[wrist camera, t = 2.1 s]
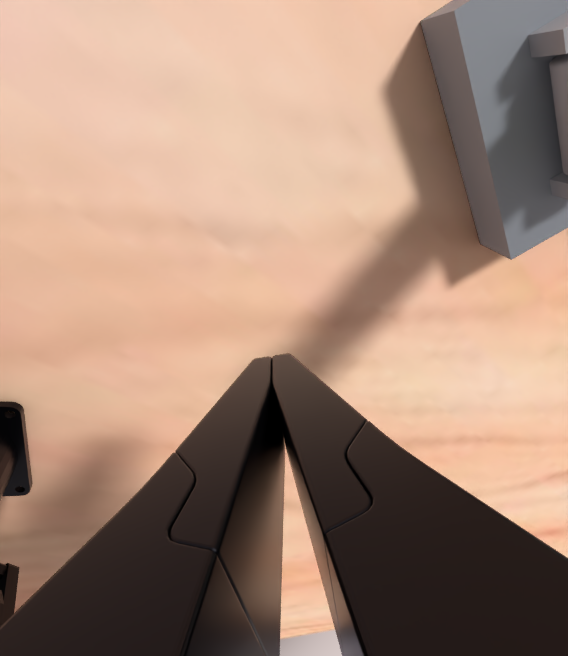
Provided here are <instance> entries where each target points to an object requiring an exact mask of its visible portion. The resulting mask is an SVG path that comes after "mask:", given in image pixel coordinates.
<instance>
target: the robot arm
mask: <svg viewBox="0 0 568 656" xmlns="http://www.w3.org/2000/svg"><path fill="white" fill-rule="evenodd" d="M8 411H13V412H14V413H10V412H8ZM284 440H285V441H284ZM285 445H286V449H287V453H288V457H289V461H290V465H291V468H292V472H293V476H294V479H295V483H296V487H297V490H298V494H299V498H300V501H301V505H302V509H303V513H304V516H305V520H306V524H307V527H308V531H309V535H310V538H311V542H312V546H313V549H314V553H315V557H316V560H317V564H318V568H319V571H320V575H321V579H322V583H323V586H324V590H325V594H326V597H327V601H328V605H329V608H330V612H331V616H332V619H333V623H334V627H335V630H336V634H337V637H338V641H339V645H340V649H341V652H342V656H568V558H567V557H565V556H564V555H562V554H561V553H559V552H558V551H556V550H555V549H553V548H552V547H550V546H549V545H547V544H546V543H544V542H543V541H541V540H540V539H538V538H537V537H535V536H534V535H532V534H531V533H529V532H527V531H526V530H524V529H523V528H521V527H520V526H518V525H517V524H515V523H514V522H512V521H511V520H509V519H508V518H506V517H505V516H503V515H502V514H500V513H499V512H497V511H496V510H494V509H493V508H491V507H490V506H488V505H487V504H485V503H484V502H482V501H481V500H479V499H478V498H476V497H474V496H473V495H471V494H470V493H468V492H467V491H465V490H464V489H462V488H461V487H459V486H458V485H456V484H455V483H453V482H452V481H450V480H449V479H447V478H446V477H444V476H443V475H441V474H440V473H438V472H437V471H435V470H434V469H432V468H431V467H429V466H428V465H426V464H425V463H423V462H422V461H420V460H419V459H417V458H416V457H414V456H413V455H412V454H410V453H409V452H407V451H406V450H405V449H403V448H402V447H400V446H399V445H398V444H396V443H395V442H394V441H393V440H391V439H390V438H389V437H388V436H386V435H385V434H384V433H383V432H381V431H380V430H379V429H378V428H377V427H376V426H374V425H373V424H372V423H371V422H370V421H367V419H365V418H364V417H363V416H362V415H361V414H360V413H358V412H357V411H356V410H355V409H354V408H353V407H352V406H350V405H349V404H348V403H347V402H346V401H345V400H343V399H342V398H341V397H340V396H339V395H338V394H336V393H335V392H334V391H333V390H332V389H331V388H329V387H328V386H327V385H326V384H325V383H324V382H323V381H321V380H320V379H319V378H318V377H317V376H316V375H314V374H313V373H312V372H311V371H310V370H309V369H307V368H306V367H305V366H304V365H303V364H302V363H301V362H299V361H298V360H297V359H296V358H295V357H294V356H292V355H291V354H289V353H287V354H281V355H275V356H273V358H271V357H263V358H256V359H254V360H252V362H251V363H250V364H249V365H248V366H247V367H246V369H245V370H244V371H243V372H242V373H241V374H240V376H239V377H238V378H237V379H236V380H235V381H234V383H233V384H232V385H231V386H230V387H229V389H228V390H227V391H226V392H225V393H224V394H223V396H222V397H221V398H220V399H219V400H218V401H217V403H216V404H215V405H214V406H213V407H212V409H211V410H210V411H209V412H208V413H207V414H206V416H205V417H204V418H203V419H202V420H201V421H200V423H199V424H198V425H197V426H196V427H195V428H194V430H193V431H192V432H191V433H190V434H189V436H188V437H187V438H186V439H185V440H184V441H183V443H182V444H181V445H180V446H179V447H178V448H177V450H176V453H172V455H171V456H170V457H169V458H168V459H167V460H166V462H165V463H164V464H163V465H162V466H161V467H160V468H159V470H158V471H157V472H156V473H155V474H154V475H153V476H152V477H151V478H150V480H149V481H148V482H147V483H146V484H145V485H144V486H143V487H142V488H141V489H140V490H139V491H138V492H137V493H136V494H135V495H134V496H133V497H132V498H131V500H130V501H129V502H128V503H127V504H126V505H125V506H124V507H123V508H122V509H121V510H120V511H119V512H118V513H117V514H116V515H115V516H114V517H113V518H112V519H110V520H109V521H108V522H107V523H106V524H105V525H104V526H103V527H102V528H101V529H100V530H99V531H98V532H97V533H96V534H95V535H94V536H93V537H92V538H91V539H90V540H89V541H88V542H87V543H86V544H85V545H84V546H83V547H82V548H81V549H80V550H79V551H78V552H77V553H76V554H75V555H74V556H73V557H72V558H71V559H69V560H68V561H67V562H66V563H65V564H64V565H63V566H62V567H61V568H60V569H59V570H58V571H57V572H56V573H55V574H54V575H53V576H52V577H51V578H50V579H49V580H48V581H47V582H46V583H45V584H44V585H43V586H42V587H41V588H40V589H39V590H38V591H37V592H36V593H35V594H34V595H33V596H32V597H31V598H30V599H29V600H27V601H26V602H25V603H24V604H23V605H22V606H21V607H20V608H19V609H18V610H17V611H16V612H15V613H14V609H15V600H16V591H17V583H18V574H19V567H17V566H14V565H11V564H9V563H7V564H2V563H0V656H279V655H280V619H281V583H282V547H283V510H284V474H285ZM20 486H21V487H20ZM31 487H32V478H31V469H30V460H29V452H28V443H27V434H26V426H25V417H24V409H23V407H22V406H21V405H20V404H18V403H16V402H0V500H1V498H2V496H21V495H26V494H28V493H29V492H30V489H31Z"/></svg>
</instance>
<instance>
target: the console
mask: <svg viewBox="0 0 568 656" xmlns="http://www.w3.org/2000/svg"><path fill="white" fill-rule="evenodd" d="M420 23H421V26H422V30H423V34H424V37H425V41H426V45H427V48H428V52H429V56H430V60H431V63H432V67H433V71H434V74H435V78H436V82H437V85H438V89H439V93H440V97H441V100H442V104H443V108H444V111H445V115H446V119H447V122H448V126H449V130H450V133H451V137H452V141H453V145H454V148H455V152H456V156H457V159H458V163H459V167H460V170H461V174H462V178H463V182H464V185H465V189H466V193H467V196H468V200H469V204H470V207H471V211H472V215H473V219H474V222H475V226H476V230H477V233H478V237H479V241H480V244H481V245H483V246H485V247H487V248H489V249H491V250H493V251H495V252H497V253H499V254H501V255H503V256H505V257H507V258H509V259H511V260H512V259H513V258H515V257H517V256H519V255H520V254H522V253H524V252H526V251H527V250H529V249H531V248H533V247H534V246H536V245H538V244H540V243H541V242H543V241H545V240H547V239H548V238H550V237H552V236H554V235H555V234H557V233H559V232H561V231H562V230H564V229H566V228H568V175H566V174H564V172H563V167H562V160H561V152H560V144H559V137H558V129H557V121H556V114H555V106H554V98H553V90H552V83H551V75H550V67H549V63H550V62H551V60H553V59H554V58H555V57H556V56H558V55H562V54H567V53H568V0H453V1H451V2H450V3H448V4H446V5H445V6H443V7H442V8H440V9H439V10H437V11H435V12H434V13H432V14H431V15H429V16H428V17H426V18H424V19H423V20H421V21H420Z"/></svg>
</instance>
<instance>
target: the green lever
mask: <svg viewBox="0 0 568 656" xmlns="http://www.w3.org/2000/svg"><path fill="white" fill-rule="evenodd" d="M549 67H550V75H551V83H552V90H553V98H554V106H555V114H556V121H557V129H558V137H559V144H560V152H561V160H562V167H563V172H564V174H566V175H568V53H567V54H562V55H558V56H556V57H555V58H554V59H553V60H551V62H550V63H549Z"/></svg>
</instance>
